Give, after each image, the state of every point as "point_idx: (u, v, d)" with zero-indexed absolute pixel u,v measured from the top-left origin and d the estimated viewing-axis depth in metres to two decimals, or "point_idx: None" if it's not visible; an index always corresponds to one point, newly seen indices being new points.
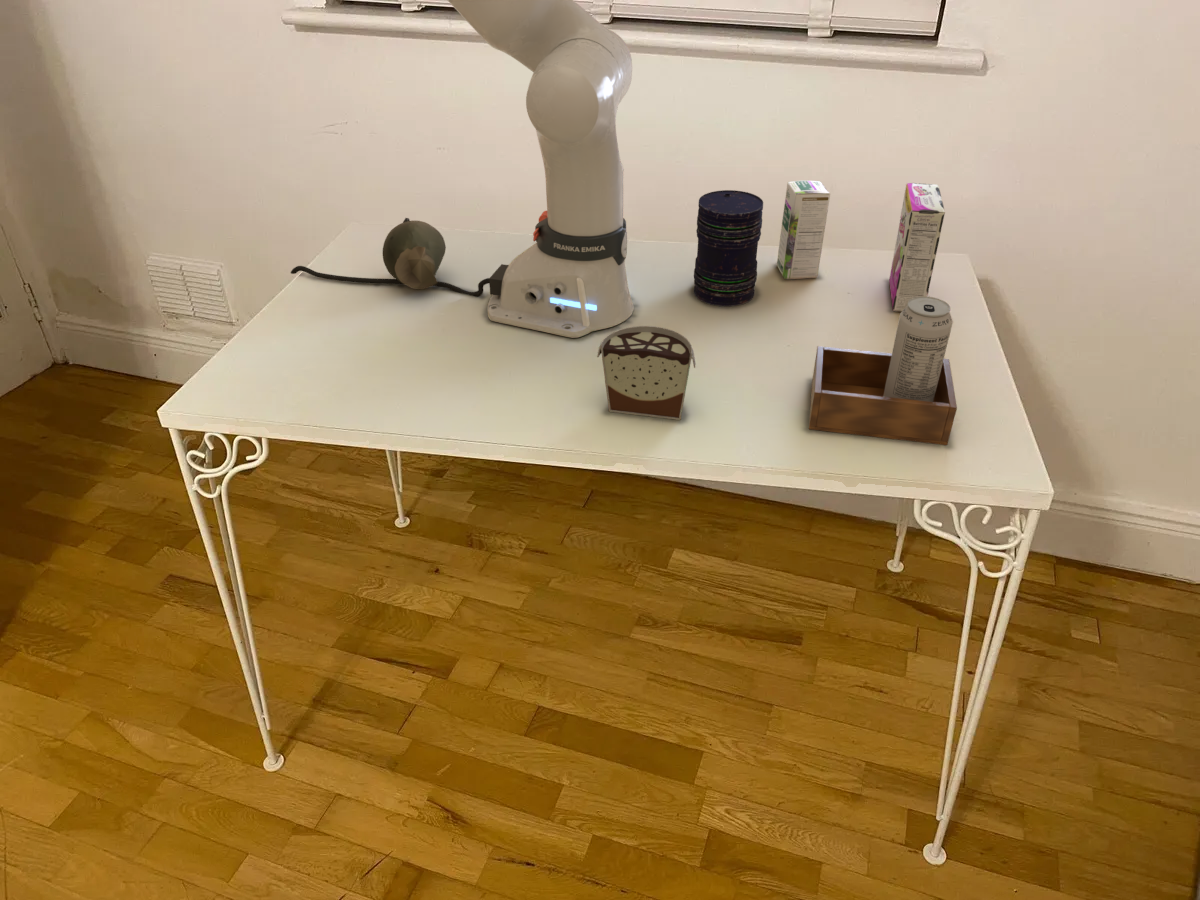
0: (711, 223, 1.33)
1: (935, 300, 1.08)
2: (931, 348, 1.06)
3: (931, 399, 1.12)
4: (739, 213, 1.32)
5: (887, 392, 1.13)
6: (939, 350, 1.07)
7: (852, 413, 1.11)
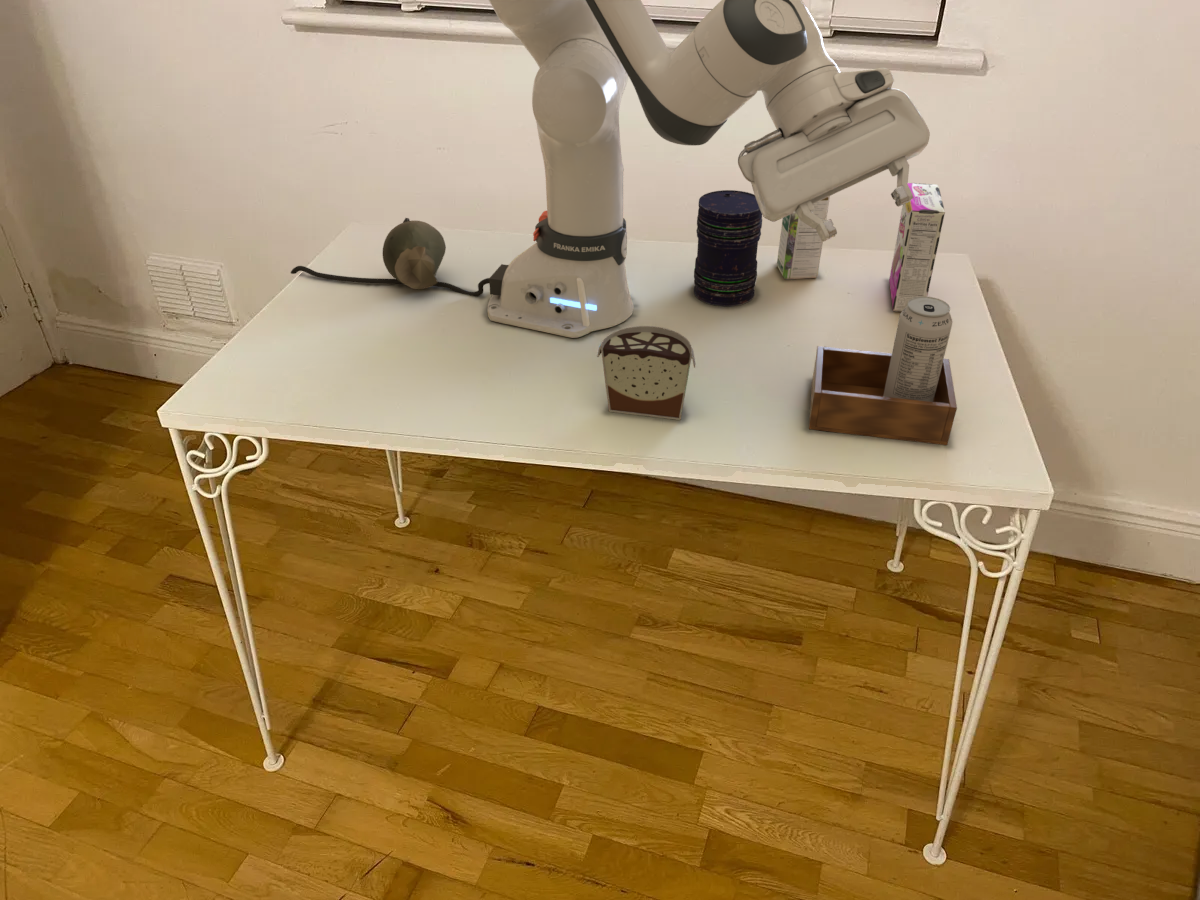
0: (711, 223, 1.33)
1: (935, 300, 1.08)
2: (931, 348, 1.06)
3: (931, 399, 1.12)
4: (739, 213, 1.32)
5: (886, 392, 1.13)
6: (939, 350, 1.07)
7: (852, 413, 1.11)
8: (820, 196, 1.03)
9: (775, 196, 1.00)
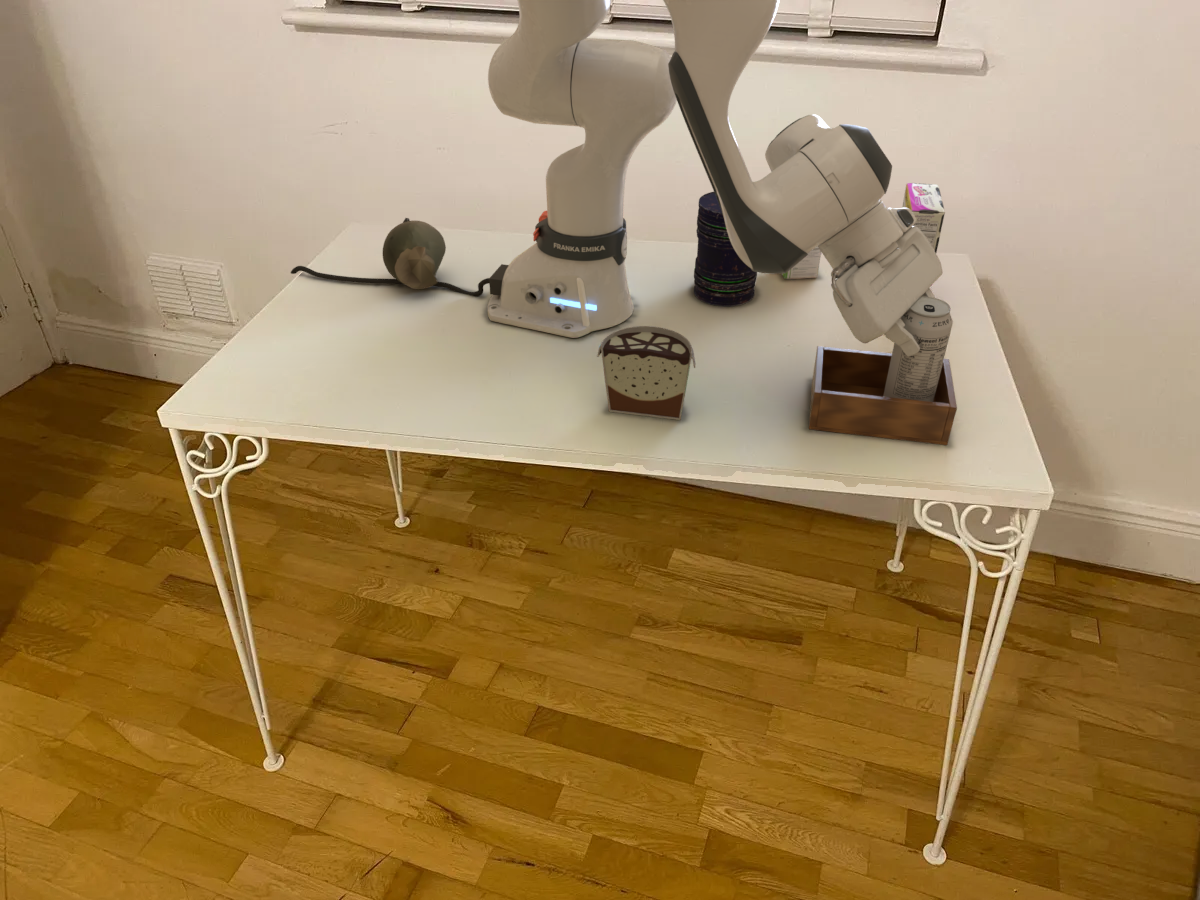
0: (711, 223, 1.33)
1: (935, 300, 1.08)
2: (931, 348, 1.06)
3: (931, 399, 1.12)
4: None
5: (887, 392, 1.13)
6: (939, 350, 1.07)
7: (852, 413, 1.11)
8: None
9: (881, 316, 1.01)
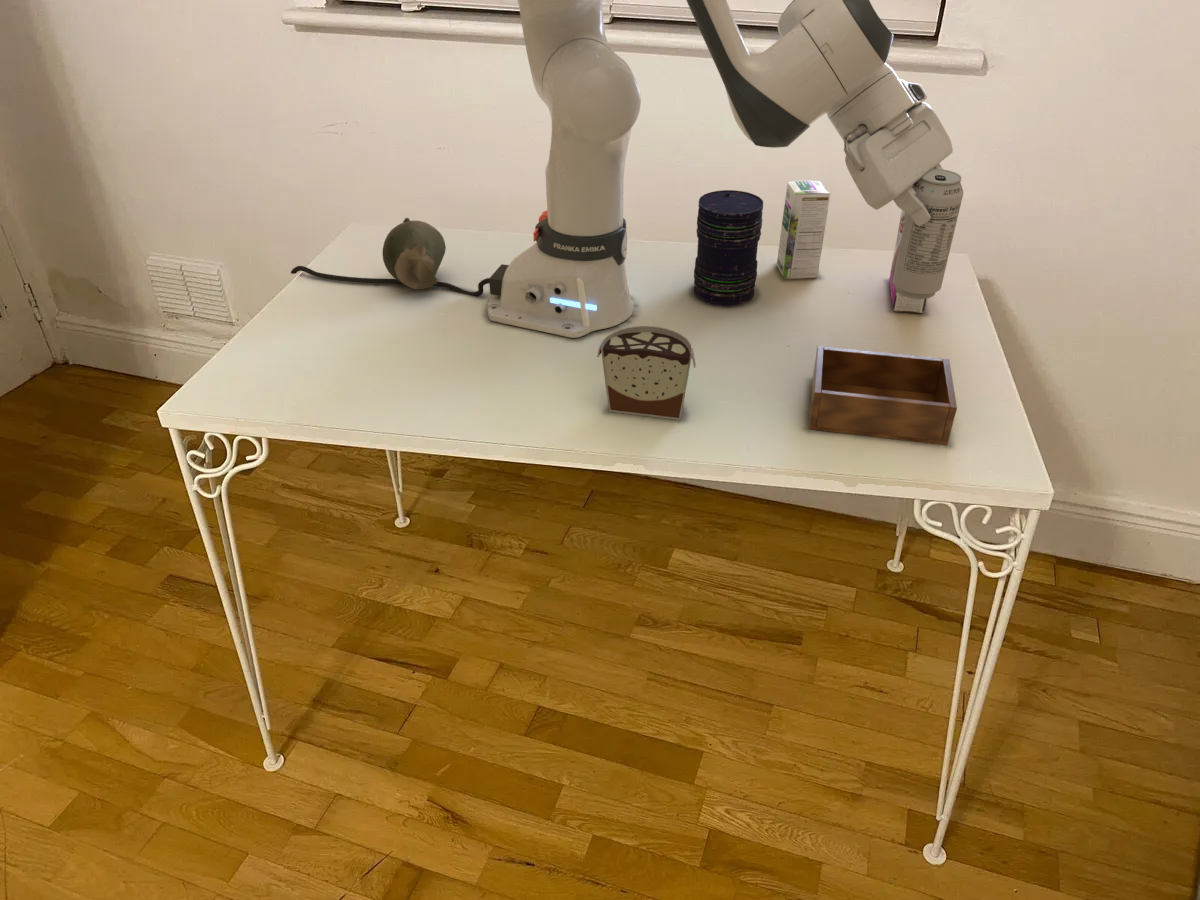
0: (711, 223, 1.33)
1: (946, 171, 1.09)
2: (942, 217, 1.07)
3: (941, 274, 1.13)
4: (739, 213, 1.32)
5: (897, 269, 1.14)
6: (950, 220, 1.08)
7: (852, 413, 1.11)
8: None
9: (893, 180, 1.02)
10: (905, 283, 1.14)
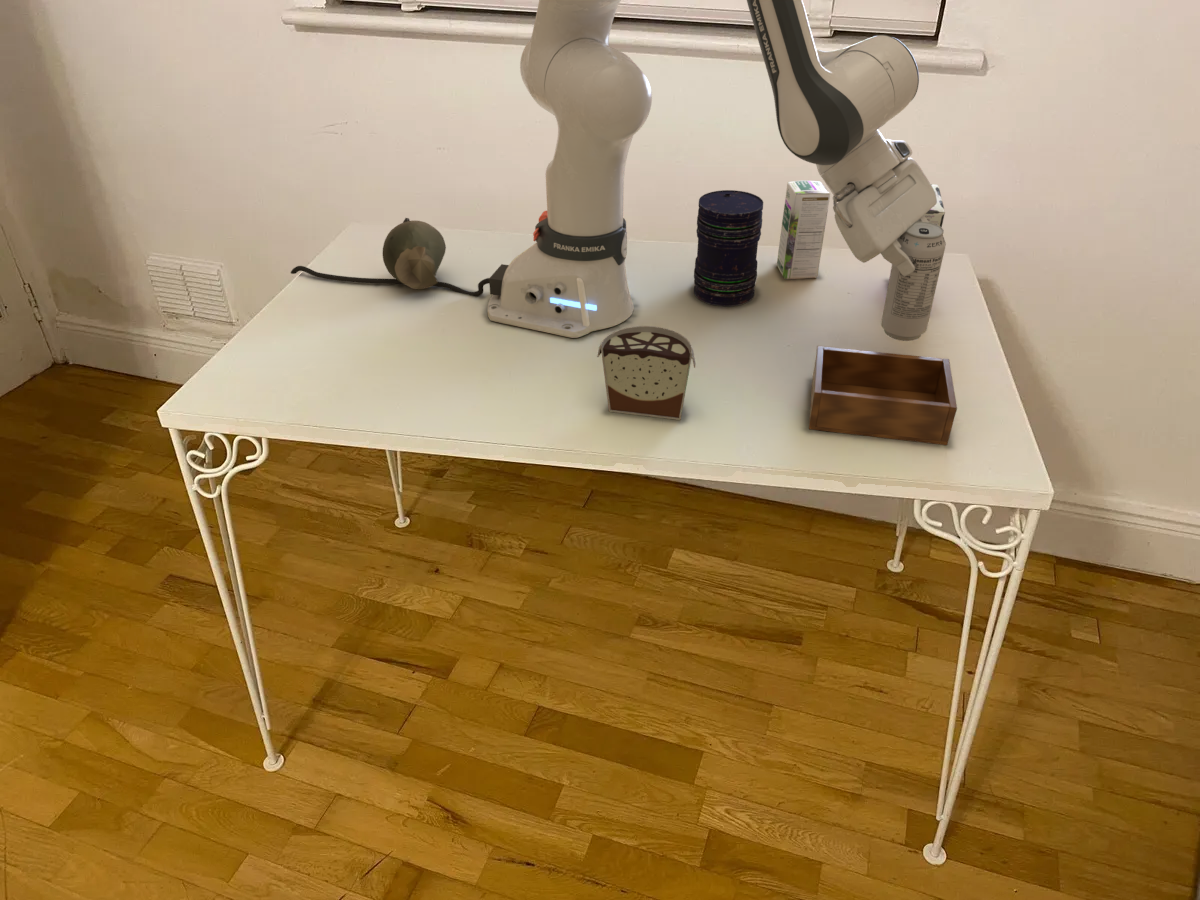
0: (711, 223, 1.33)
1: (930, 224, 1.17)
2: (926, 268, 1.15)
3: (926, 318, 1.21)
4: (739, 213, 1.32)
5: (885, 313, 1.22)
6: (933, 270, 1.16)
7: (852, 413, 1.11)
8: None
9: (878, 236, 1.10)
10: (893, 326, 1.21)
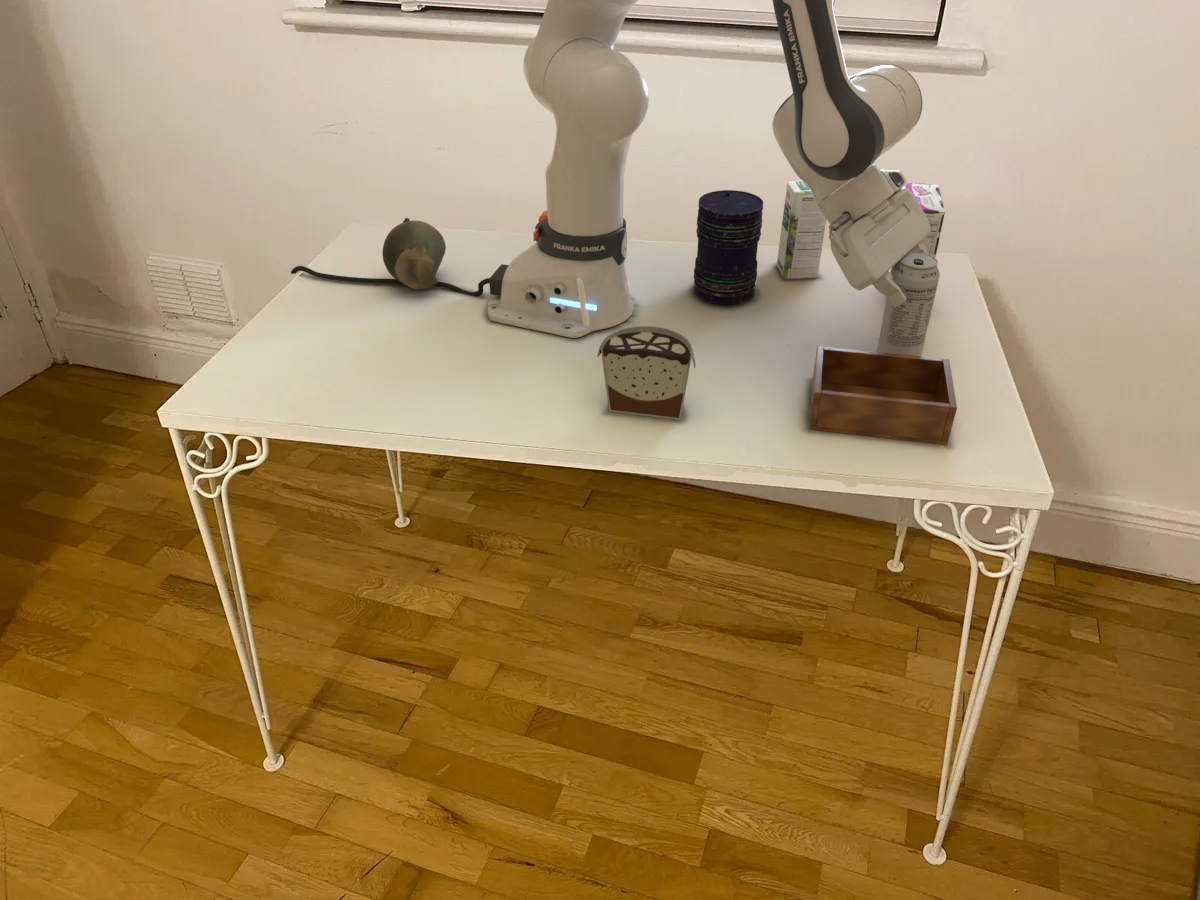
0: (711, 223, 1.33)
1: (924, 255, 1.19)
2: (920, 298, 1.18)
3: (921, 346, 1.23)
4: (739, 213, 1.32)
5: (880, 341, 1.25)
6: (928, 300, 1.18)
7: (852, 413, 1.11)
8: None
9: (873, 265, 1.12)
10: None
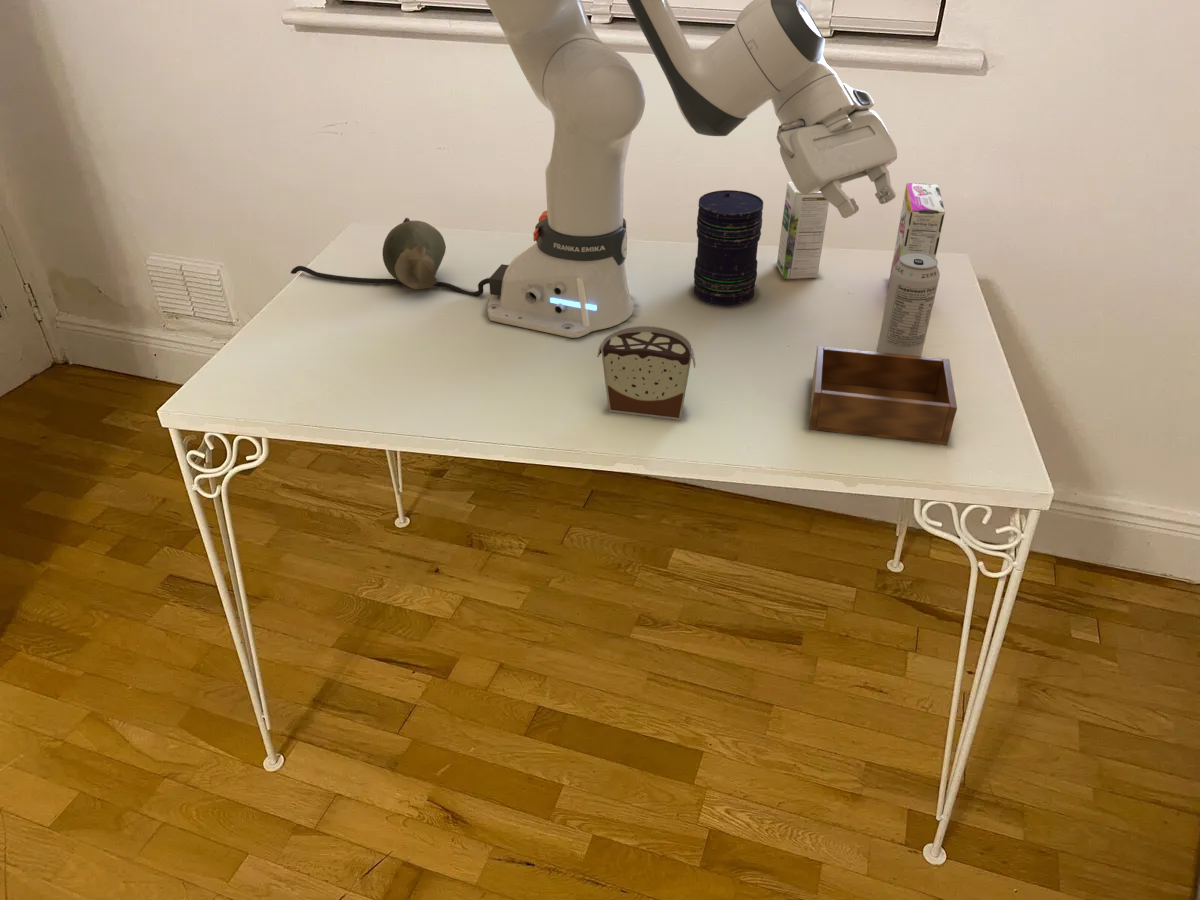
0: (711, 223, 1.33)
1: (924, 255, 1.19)
2: (920, 298, 1.18)
3: (921, 346, 1.23)
4: (739, 213, 1.32)
5: (880, 341, 1.25)
6: (928, 300, 1.18)
7: (852, 413, 1.11)
8: None
9: (819, 167, 1.10)
10: None
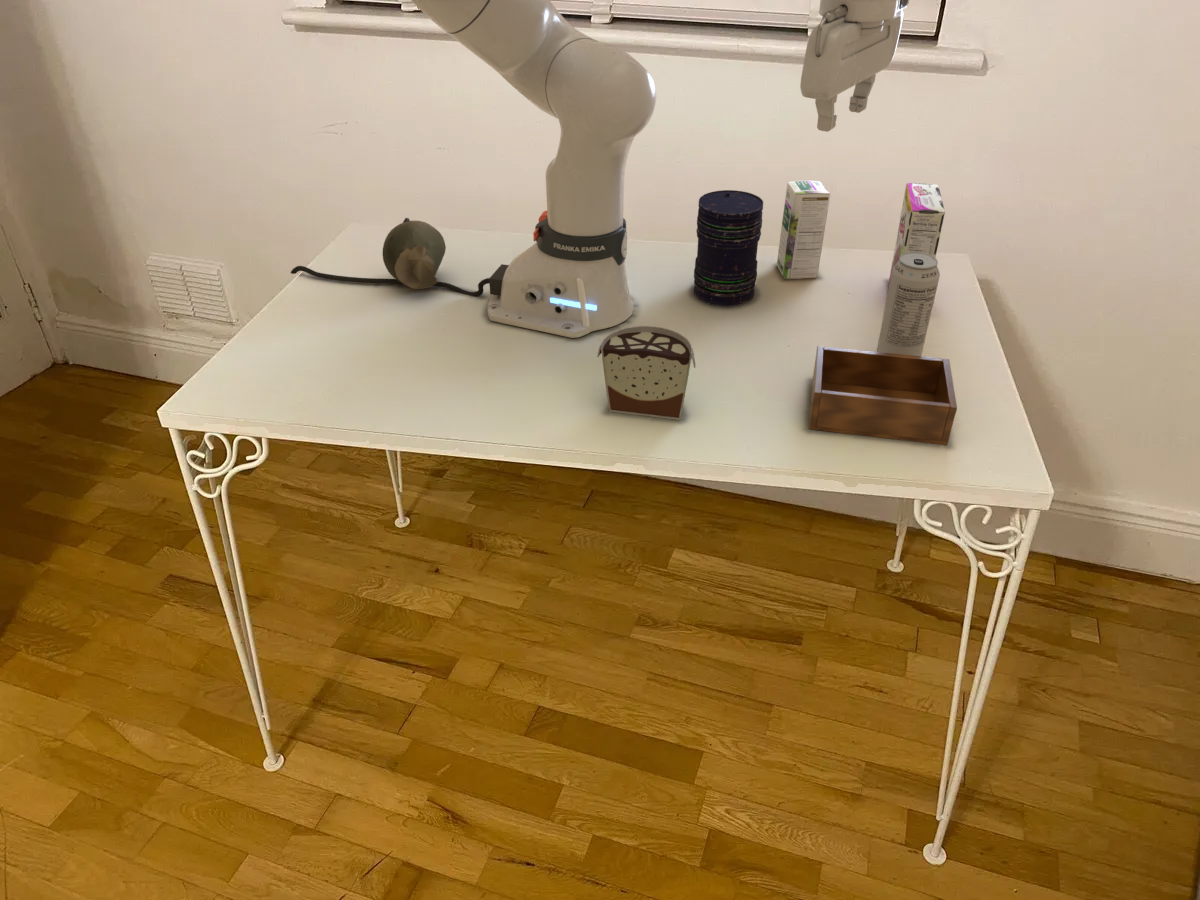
0: (711, 223, 1.33)
1: (924, 255, 1.19)
2: (920, 298, 1.18)
3: (921, 346, 1.23)
4: (739, 213, 1.32)
5: (880, 341, 1.25)
6: (928, 300, 1.18)
7: (852, 413, 1.11)
8: None
9: (833, 83, 1.03)
10: None
